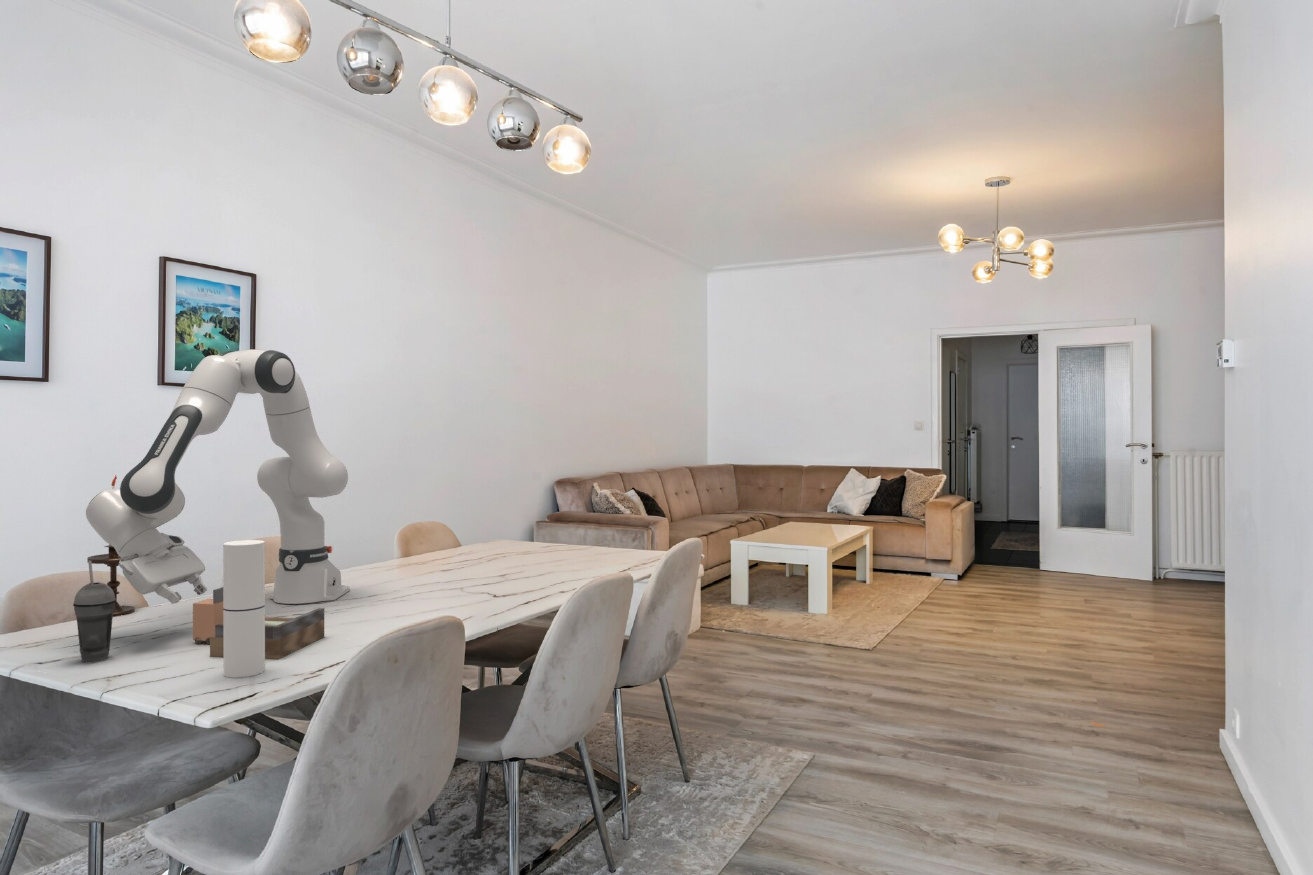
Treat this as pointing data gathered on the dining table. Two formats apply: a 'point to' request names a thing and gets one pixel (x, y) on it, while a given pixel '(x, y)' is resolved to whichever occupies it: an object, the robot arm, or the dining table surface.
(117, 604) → the candlestick
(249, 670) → the cylindrical container
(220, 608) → the tan block
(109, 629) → the beverage cup
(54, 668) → the dining table surface
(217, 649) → the dock
